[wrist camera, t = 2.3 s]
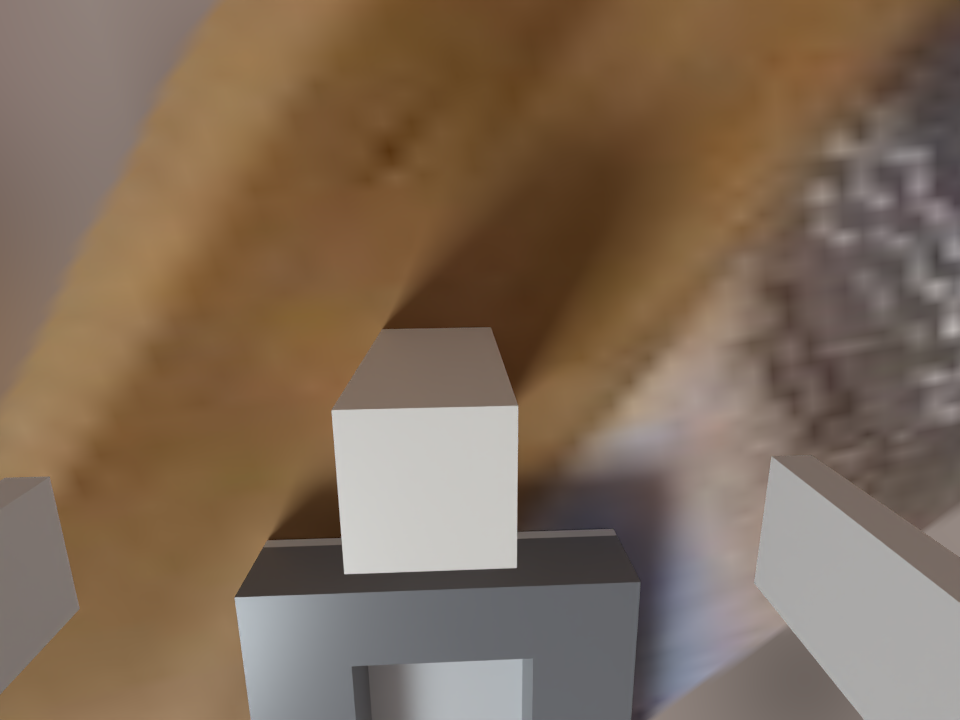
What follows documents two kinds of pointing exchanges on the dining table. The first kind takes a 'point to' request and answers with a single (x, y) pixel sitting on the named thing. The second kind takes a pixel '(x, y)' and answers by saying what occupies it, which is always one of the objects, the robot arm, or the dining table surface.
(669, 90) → the dining table surface
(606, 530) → the block
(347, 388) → the plug
